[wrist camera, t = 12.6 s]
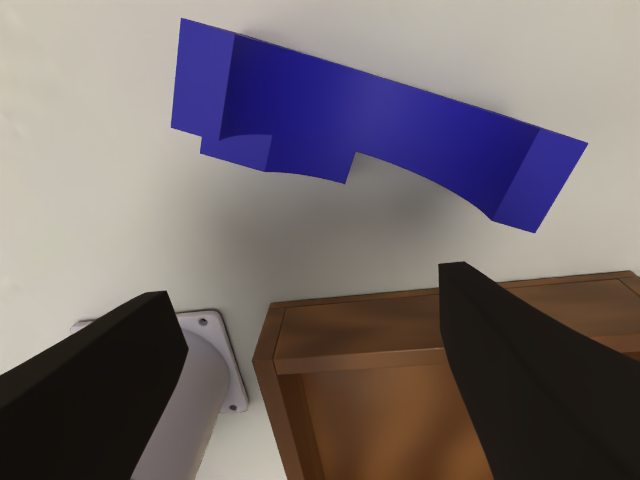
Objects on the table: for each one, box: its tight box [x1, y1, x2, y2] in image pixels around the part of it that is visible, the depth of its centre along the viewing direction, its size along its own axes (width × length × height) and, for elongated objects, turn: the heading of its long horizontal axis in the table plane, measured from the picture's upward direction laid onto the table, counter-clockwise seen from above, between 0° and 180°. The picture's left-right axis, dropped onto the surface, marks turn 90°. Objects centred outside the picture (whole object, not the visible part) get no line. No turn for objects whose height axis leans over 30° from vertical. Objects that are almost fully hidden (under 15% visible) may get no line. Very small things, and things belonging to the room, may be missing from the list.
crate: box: [252, 271, 640, 480], centre depth 22 cm, size 19×19×5 cm
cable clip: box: [171, 18, 588, 233], centre depth 14 cm, size 12×4×6 cm, turn 74°
